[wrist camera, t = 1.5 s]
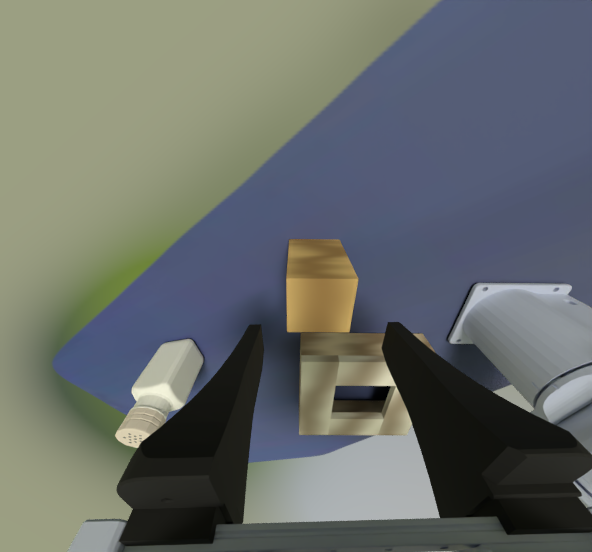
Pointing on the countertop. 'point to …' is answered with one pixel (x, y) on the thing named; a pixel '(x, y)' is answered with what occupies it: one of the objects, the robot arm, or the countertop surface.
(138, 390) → the pepper shaker
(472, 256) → the countertop surface
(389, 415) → the posting box
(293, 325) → the ochre peg
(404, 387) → the robot arm
